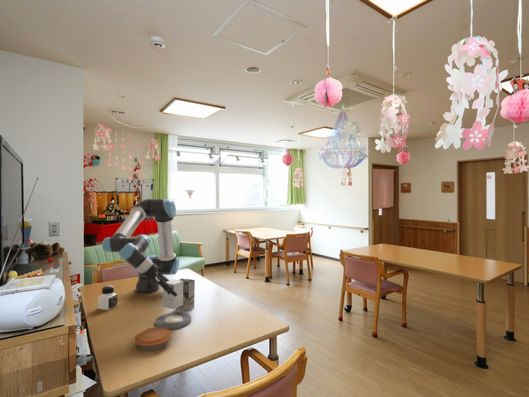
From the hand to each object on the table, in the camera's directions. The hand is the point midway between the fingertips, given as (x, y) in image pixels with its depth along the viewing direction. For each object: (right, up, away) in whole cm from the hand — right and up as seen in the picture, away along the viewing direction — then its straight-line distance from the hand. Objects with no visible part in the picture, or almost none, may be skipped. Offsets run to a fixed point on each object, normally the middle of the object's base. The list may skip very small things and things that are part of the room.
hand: (179, 295), depth 149 cm
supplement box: (-3, -5, -1) cm, 6 cm away
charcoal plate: (-3, -13, -1) cm, 14 cm away
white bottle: (-46, -13, +16) cm, 51 cm away
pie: (-5, -14, -23) cm, 27 cm away
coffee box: (-2, -13, +18) cm, 22 cm away
